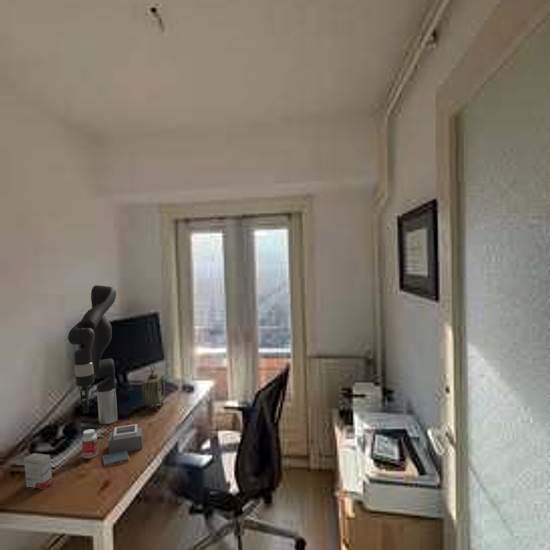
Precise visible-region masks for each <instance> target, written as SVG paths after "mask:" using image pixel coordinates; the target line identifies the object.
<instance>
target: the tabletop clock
mask: <svg viewBox="0 0 550 550" xmlns="http://www.w3.org/2000/svg"><path fill="white" fill-rule="evenodd" d="M155 366H156V365H155V364H152V365H151V366H150V373H149V374H148V376H147V377H146V378H145V379H144V380H143V381H142V382H141V392H142V393H141V394H142V396H141V397H142V403H143V404H144V405H146V406H148V405H150V406H149V408H150V409H153V407H155V412H158V411H159V408H158V407H157V405H164V400H165V398H166V384H165V376H164V375H158V373H156V372H155V370H156V367H155ZM153 405H154V406H153Z"/></svg>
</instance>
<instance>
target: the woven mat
mask: <svg viewBox="0 0 550 550" xmlns="http://www.w3.org/2000/svg"><path fill="white" fill-rule="evenodd" d="M102 461H103V467H104V468H110V467H114V466H118V465H121V463H123V464H126V463H129V461H131V460H130V456H129V453H128V451H126V450H125V451H124V450H123V452H122V451H121V452H120V451H119V453H118V452H117V453H116V452H115V453H113V454H110V453H107V454H103V456H102ZM120 461H121V462H120ZM125 461H126V463H125Z"/></svg>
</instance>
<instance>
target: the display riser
mask: <svg viewBox="0 0 550 550" xmlns="http://www.w3.org/2000/svg"><path fill="white" fill-rule="evenodd" d="M143 441H144V438H143V427H138V423H135V424H128V425H122V426H116V427H114V430H113V431H110V433H109V437H108V450H109V451H108V454H109V455H110V454H113V453H115V452H116V453H117V452H118V453H119V451H120V453H121V451H122V453H123V450H124V451H125V450H126V452H132V451H137V450H143V449H142V448H143V446H144V445H143V443H144V442H143Z"/></svg>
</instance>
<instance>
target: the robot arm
mask: <svg viewBox="0 0 550 550" xmlns="http://www.w3.org/2000/svg"><path fill="white" fill-rule="evenodd" d="M116 298H117V289H116V288H115V287H113V286H108V285H99V284H96V285H94V286H92V288H91V291H90V301H91V308H90V309H88V310H86V312H85V314H84V315H83V316H82V319H81V320H80V321H79V322H78V323H77V324H75V325H74V326H73V327H72V328H71V329H70V330H69V332H68V335H67V339H68V342H69V344H71V345H74V346H76V345H79V346H80V345H83V348H81V349H78V350H75V351H74V355H73V357H74V375H75V376H74V377H75V378H74V379H75V386H77V387H81V388H80V392H79V393H80V405H81V406H82V413H83V414H88V413H89V412H90V411H89V408H90V407H92V394H93V392H92V385H93V384H94V383H95V379H101V378H104V380H103V381H101V382H99V383H98V384H97V385H96V396H97V399H96V400H97V410H98V423H99V424H100V425H109V424H112V423H113V424H114V423H115V422H117V421H118V419H119V418H118V407H117V406H118V405H117V393H116V391H117V390H116V372H115V371H116V369H115V361H114V359H113V358H105V359H101V358H102V355H103V354H104V351H105V350H106V349H107V347H108V346H109V344H110V343H111V341H112V340H113V339H112V338H113V337H112V336H113V333H112V332H113V330H112V329H113V327H112V324H111V322H110V321H109V319H108V317H107V316H106V315H105V314H106V313H107V312H108V311H109V309H110V308H111V307H112V306H113V304H114V303H115V301H116ZM105 378H106V379H105Z"/></svg>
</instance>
